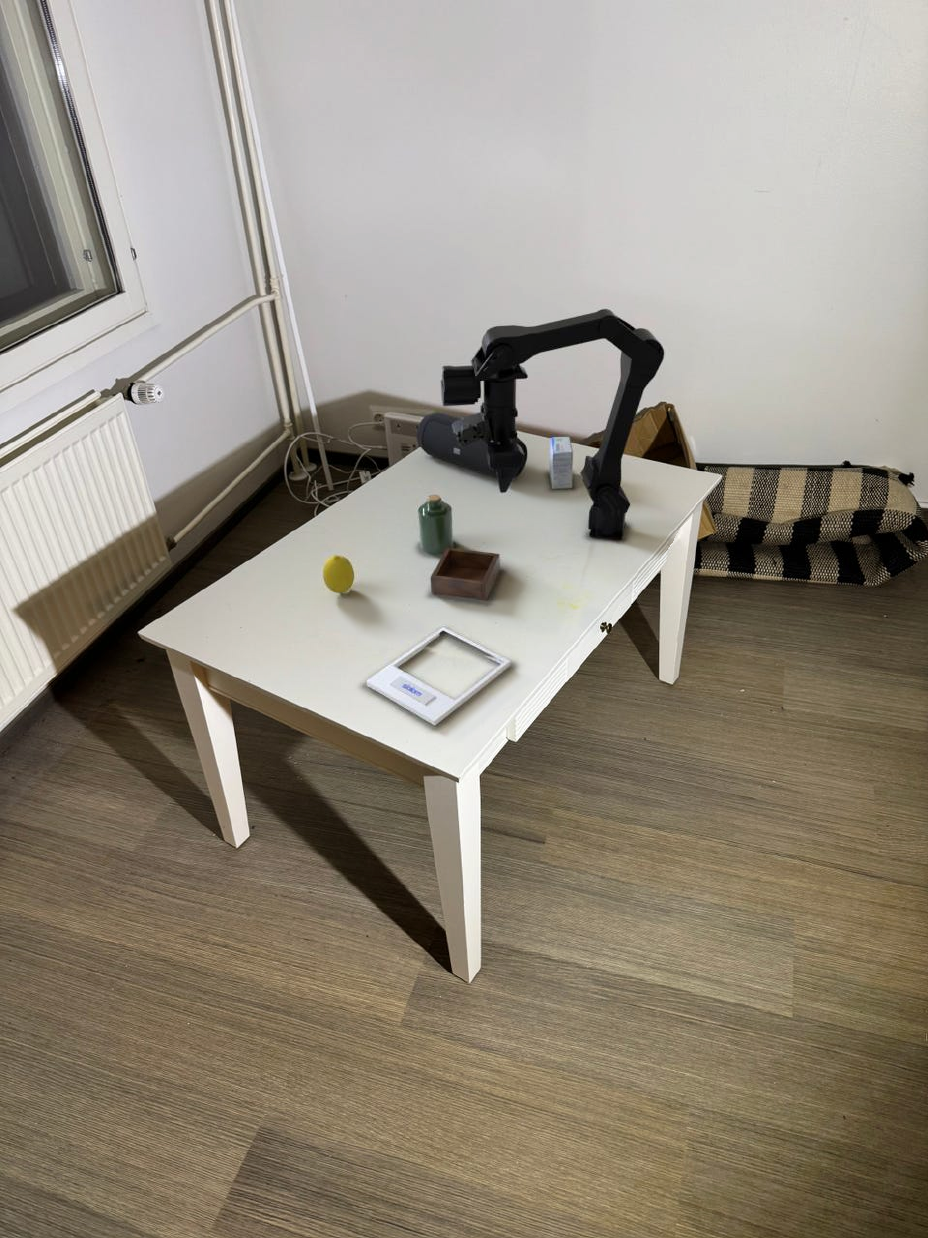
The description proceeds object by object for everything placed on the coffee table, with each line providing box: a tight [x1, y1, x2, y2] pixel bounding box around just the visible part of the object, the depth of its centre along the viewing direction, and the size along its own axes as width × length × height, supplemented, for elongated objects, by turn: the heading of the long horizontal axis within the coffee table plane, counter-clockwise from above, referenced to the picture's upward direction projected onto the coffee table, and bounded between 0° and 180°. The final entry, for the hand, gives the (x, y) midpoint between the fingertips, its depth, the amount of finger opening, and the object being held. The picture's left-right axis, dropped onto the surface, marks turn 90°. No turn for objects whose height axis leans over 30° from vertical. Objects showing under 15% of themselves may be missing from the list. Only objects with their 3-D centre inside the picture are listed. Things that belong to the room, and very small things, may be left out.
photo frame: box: [366, 626, 511, 726], centre depth 139 cm, size 15×1×18 cm
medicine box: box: [549, 436, 574, 490], centre depth 189 cm, size 8×4×9 cm, turn 179°
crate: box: [430, 547, 501, 601], centre depth 159 cm, size 10×10×4 cm
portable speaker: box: [416, 412, 528, 479], centre depth 196 cm, size 26×10×10 cm, turn 50°
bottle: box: [417, 494, 454, 555], centre depth 168 cm, size 6×6×11 cm
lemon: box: [322, 555, 355, 594], centre depth 157 cm, size 6×6×8 cm
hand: (499, 480), depth 164 cm, fingers open, 9 cm apart
